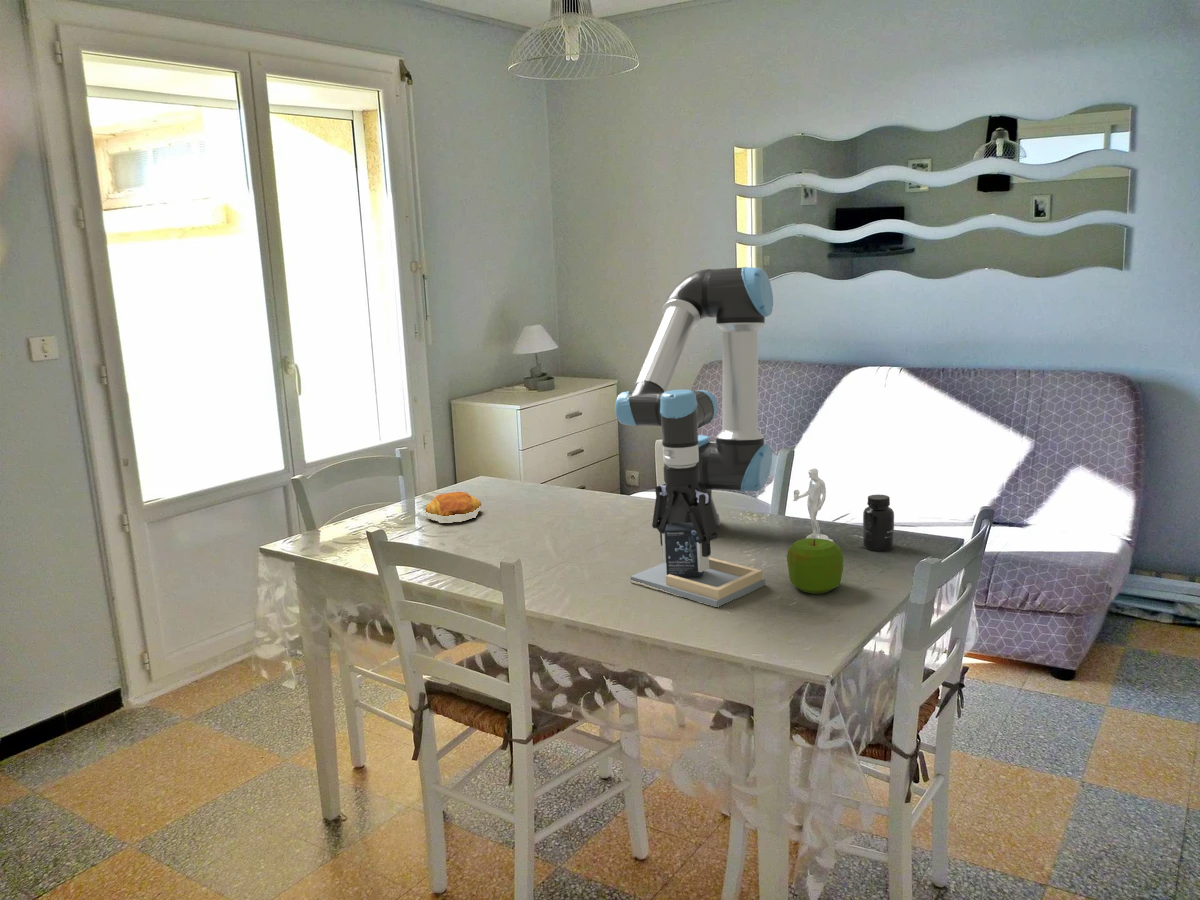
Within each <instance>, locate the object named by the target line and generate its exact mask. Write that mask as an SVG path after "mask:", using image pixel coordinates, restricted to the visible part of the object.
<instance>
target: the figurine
mask: <svg viewBox="0 0 1200 900" xmlns="http://www.w3.org/2000/svg"><path fill="white" fill-rule="evenodd" d="M808 475H809V476H808V477H809V478H810V481H809V483H808V484H809V485H808V489H807V490H806V492H804V493H802V494H801V495H800V492H801V491H800V490H799V489H795V490H794V491H793V498H794V499H792V500H793V502H798V500H799V499H802V498H805V497H807V504H806V505H807V510H808V514H809V518H810V525H811V529H812V533H811V534H808V535H807V536H806V538H817V539H825V540H829V541H832V542H834V543H835V544H836V542H835V540H834V539H831V538H829V536H828V535H826V534H822V533H821V529H820V523H819V521H818V519H817V515H818V512H819V511H821V509H822V507H823V505H824V503H825V501H826V498H827V494H826V493H827V487H826V483H825V481H824V480H823V479H821V477H819V470H818V469H817V468H811V469H809V470H808ZM821 495H822V497H821ZM806 538H804V539H806Z"/></svg>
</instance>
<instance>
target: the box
mask: <svg viewBox="0 0 1200 900" xmlns="http://www.w3.org/2000/svg"><path fill="white" fill-rule="evenodd" d="M698 541H700V540H699V537H698V535H697V532H696V530H695V528H694V525H693V523H667V525H666V529H665V544H666V568H667V575H669V574H671V575H674V576H703V573H704V571H703V572H698V557H697V542H698Z"/></svg>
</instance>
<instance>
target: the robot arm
mask: <svg viewBox="0 0 1200 900" xmlns="http://www.w3.org/2000/svg"><path fill="white" fill-rule="evenodd" d="M773 295H774V294H773V288H772V284H771V281H770V278H769V276H768V274H767V273H766V271H765V270H764V269H763V268H760V267H749V266H748V267H747V266H743V267H729V268H716V269H715V268H714V269H713V268H712V269H711V268H706V269H705V268H704V269H700V270H698V271H695V272H693V273H691V274H689V275H688V276H686V277H685V278H684V279H682V280H681V281H680V282H679V283H678V284H676V286H674V288H673V289H672V290H671V291H670V293H669V294H668V296H667V297H666V299H665V302H664V303H663V306H662V309H661V314H662V315H661V316H662V319H661V321H660V324H659V326H658V328H657V331H656V333H655V335H654V338H653V340H652V342H651V345H650V348H649V350H648V352H647V354H646V357H645V360H644V362H643V365H642V366H641V369H640V371H639V375H638V377H637V379H636V381H635V383H634V385H633V388H632V391H630V390H627V391H622V392H620V393H619V394H618V395H617V397H616V400H615V403H614V411H615V417H616V418H617V421H618V422H619V423H620V424H621V425H626V426H635V427H639V426H640V427H661V439H662V457H663V458H662V461H663V481H664V484H660V485H657V486H655V488H654V489H655V503H654V510H653V517H652V523H651V524H652V526H651V527H652V528H653V529H656V530H658V532H659V537H660V547H662V557H663V558H662V559H663V560H662V561H663V563H666V544H665V529H666V525H667V523H693V525H694V528H695V530H696V532H697V535H698V537H699V540H700V541H698V542H697V557H698V572H703V571H705V570H708V569H709V557H711V554H712V552H711V550H712V549H711V542H712V541H713V540H716V539H719V534H718V529H719V528H720V527H721V520H720V519H721V518H720V515H719V513H718V511H717V509H716V505H715V502H714V500H713V499H714V498H713V494H712V492H713V491H712V490H715V491H716V490H718V491H719V490H720V491H735V492H736V491H738V492H742V493H745V492H759V491H761V490H762V489H764V487H765V486H766V484H767V482H768V479H769V476H770V472H771V469H772V463H773V462H772V461H773V453H772V447H771V445H769V444H768V443H765V436H764V434H762V432H761V431H759V426H758V425H759V421H758V416H759V415H758V413H759V410H758V409H759V406H758V405H759V403H758V402H759V396H758V394H759V331H760V330H761V328H763V327H764V326H765V324H766V323H765V320H766V317H769V316H771V314H772V312H773V307H774V296H773ZM705 318H715V319H716V320H715V321H716V322H715V323H716V326H717V327H718V328H719V329H720V330H721V332H722V380H721V381H722V389H721V390H722V399H721V401H722V402H721V403H722V410H721V411H722V413H721V415H722V416H721V417H722V420H721V421H722V428H721V431H720V432H719V433H718V434H717V435H716V436H715V437H716V438H715V441H716V442H711V439H710V437H709V435H704V434H701V435H700V434H699V431H698V430H699V429H700V428H702V427H704V426H706V425H708V424H711V422H712V421H713V420H714V419H715V418H716V416H717V414H718V412H719V403H718V399H717V398H716V396H715V395H714V393H712V392H711V391H709V390H705V389H699V390H694V391H693V390H691V389H671V390H669V388H670V386H671V383H672V380H673V378H674V376H675V373H676V371H677V367H678V365H679V364H680V360H681V358H682V356H683V354H684V351H685V347H686V346H687V342H688V340H689V338H690V335H691V332H692V330H693V329H695V328H697V327H698V325H699V323H700V322H701V320H702V319H705Z"/></svg>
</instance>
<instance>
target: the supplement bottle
mask: <svg viewBox="0 0 1200 900" xmlns="http://www.w3.org/2000/svg"><path fill="white" fill-rule="evenodd" d="M890 501H891V499H890V496H888V495H886V494H871V495H868V496H867V503H866V505H867V507H865V508H864V510H863V512H862V513H863V514H862V517H863V518H862V519H863V520H862V545H863V548H865V549H866V550H870V551H874V552H886V551H890V550H892V549H893V548H894V545H895V512H894V510H893V508H891V507H889V506H890V505H891V502H890Z"/></svg>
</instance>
